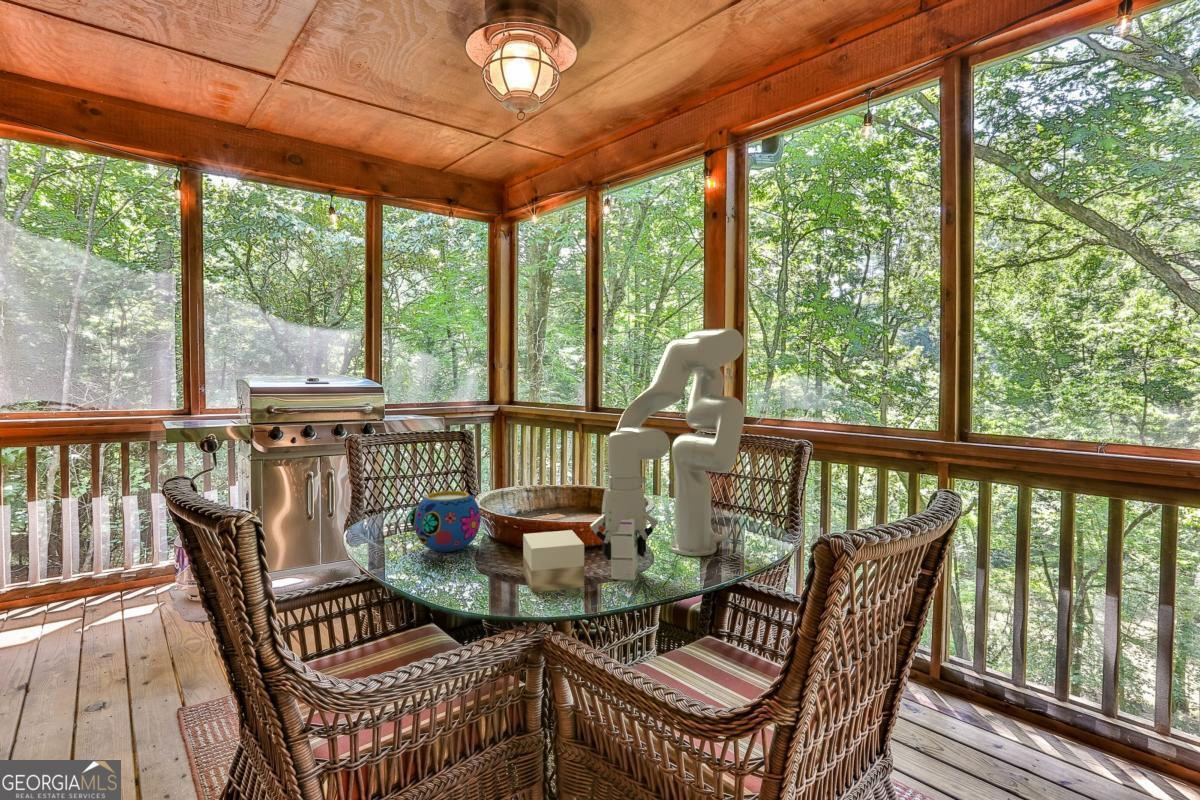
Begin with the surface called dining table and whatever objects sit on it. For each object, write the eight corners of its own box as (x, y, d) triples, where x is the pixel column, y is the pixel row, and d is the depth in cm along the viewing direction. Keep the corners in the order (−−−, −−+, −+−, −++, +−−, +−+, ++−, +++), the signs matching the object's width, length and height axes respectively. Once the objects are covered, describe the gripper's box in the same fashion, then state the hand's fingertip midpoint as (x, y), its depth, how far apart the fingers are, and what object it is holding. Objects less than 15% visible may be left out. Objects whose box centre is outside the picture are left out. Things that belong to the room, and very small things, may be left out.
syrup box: (635, 581, 137) (635, 519, 137) (610, 579, 139) (609, 518, 138) (638, 572, 143) (638, 513, 142) (614, 571, 144) (614, 512, 143)
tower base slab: (572, 570, 146) (571, 550, 145) (584, 587, 134) (584, 566, 134) (523, 575, 142) (523, 554, 142) (531, 593, 131) (531, 571, 131)
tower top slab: (572, 550, 146) (571, 530, 145) (584, 565, 134) (584, 544, 134) (523, 554, 142) (523, 534, 142) (531, 571, 131) (531, 548, 131)
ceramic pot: (403, 548, 163) (402, 494, 162) (461, 536, 174) (461, 485, 174) (432, 564, 150) (431, 505, 149) (493, 549, 161) (492, 495, 160)
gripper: (653, 478, 145) (653, 548, 146) (584, 482, 141) (585, 555, 142) (664, 484, 138) (664, 558, 139) (592, 488, 134) (593, 565, 135)
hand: (624, 556), depth 141 cm, fingers closed on syrup box, 7 cm apart
